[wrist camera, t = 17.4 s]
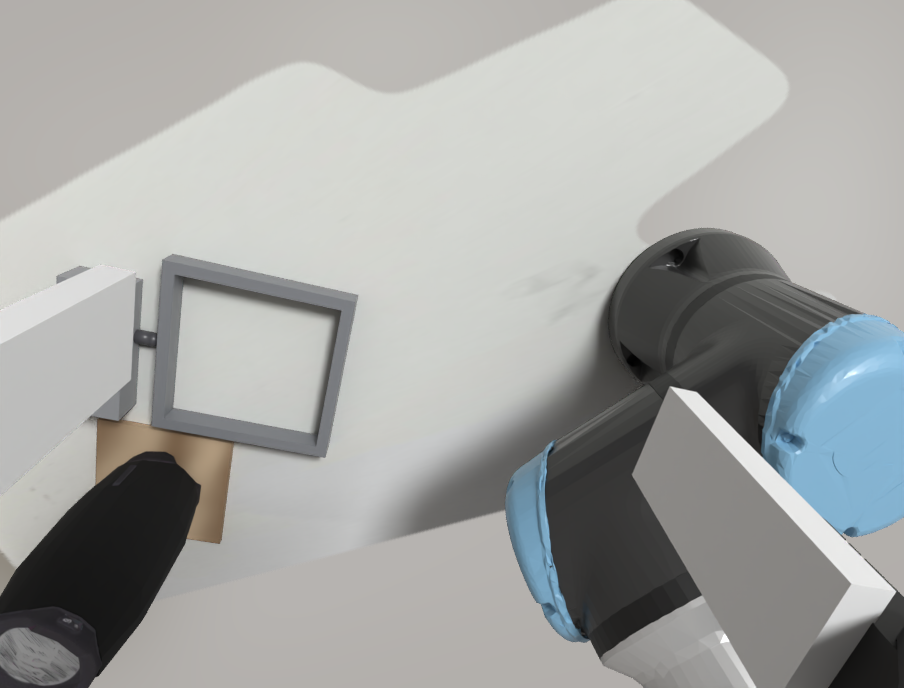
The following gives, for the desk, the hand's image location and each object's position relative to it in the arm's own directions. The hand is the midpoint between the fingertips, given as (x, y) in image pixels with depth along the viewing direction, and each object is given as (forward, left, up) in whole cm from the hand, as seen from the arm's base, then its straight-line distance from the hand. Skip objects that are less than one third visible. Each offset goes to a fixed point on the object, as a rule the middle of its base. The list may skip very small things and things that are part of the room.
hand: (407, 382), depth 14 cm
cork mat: (+18, +32, -35) cm, 50 cm away
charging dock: (+13, +17, -35) cm, 41 cm away
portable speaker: (+18, +32, -34) cm, 50 cm away
